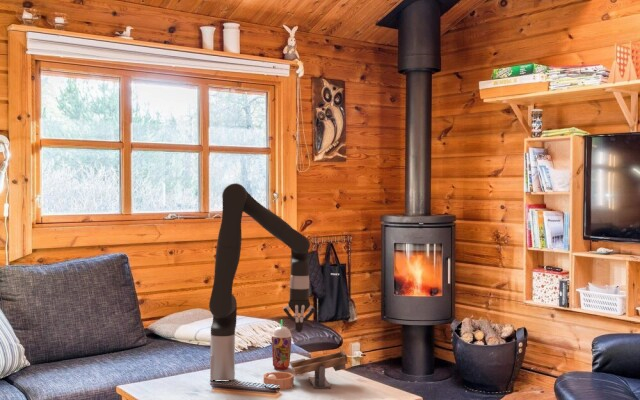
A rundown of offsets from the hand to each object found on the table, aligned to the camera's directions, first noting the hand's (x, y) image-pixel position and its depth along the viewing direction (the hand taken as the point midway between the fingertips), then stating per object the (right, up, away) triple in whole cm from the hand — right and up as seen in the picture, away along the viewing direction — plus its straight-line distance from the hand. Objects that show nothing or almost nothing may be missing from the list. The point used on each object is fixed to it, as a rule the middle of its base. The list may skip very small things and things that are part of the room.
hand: (298, 331), depth 278 cm
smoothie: (-8, -18, +16) cm, 25 cm away
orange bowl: (-7, -18, -10) cm, 22 cm away
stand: (+8, -18, -7) cm, 21 cm away
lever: (+8, -14, -3) cm, 16 cm away
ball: (-10, -16, -10) cm, 21 cm away
